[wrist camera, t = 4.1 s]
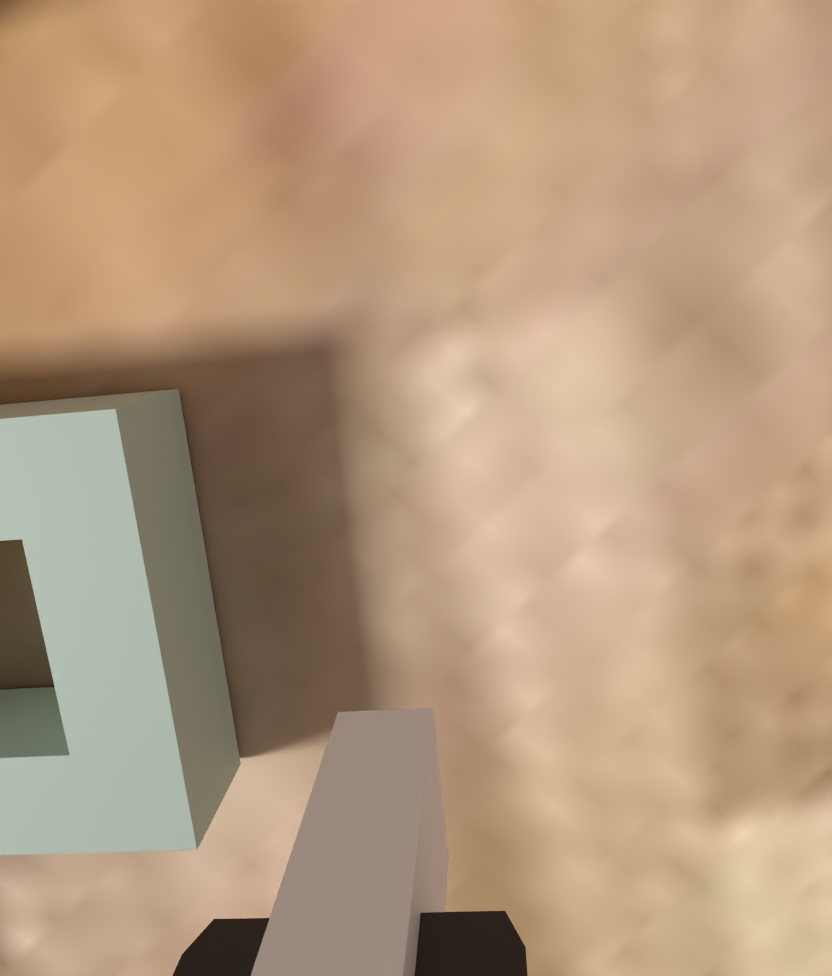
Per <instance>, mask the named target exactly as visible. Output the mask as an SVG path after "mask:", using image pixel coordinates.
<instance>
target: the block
mask: <svg viewBox="0 0 832 976" xmlns="http://www.w3.org/2000/svg"><path fill="white" fill-rule="evenodd" d="M20 539H22V542H23V547H24V551H25V556H26V560H27V565H28V569H29V574H30V578H31V583H32V587H33V592H34V597H35V601H36V606H37V610H38V615H39V619H40V624H41V628H42V633H43V637H44V642H45V646H46V651H47V655H48V660H49V664H50V669H51V673H52V678H53V682H54V687H42V688H23V689H3V690H0V855H30V854H65V853H99V852H134V851H169V850H197V849H198V847H199V845H200V843H201V841H202V839H203V837H204V835H205V833H206V831H207V829H208V827H209V825H210V823H211V821H212V819H213V817H214V815H215V813H216V811H217V809H218V807H219V805H220V803H221V802H222V800H223V798H224V796H225V794H226V792H227V790H228V788H229V786H230V784H231V782H232V780H233V778H234V776H235V774H236V772H237V770H238V768H239V766H240V764H241V763H240V757H239V751H238V745H237V739H236V733H235V727H234V721H233V715H232V709H231V703H230V697H229V690H228V684H227V678H226V672H225V666H224V660H223V654H222V648H221V642H220V636H219V630H218V624H217V618H216V612H215V606H214V600H213V594H212V588H211V581H210V575H209V569H208V563H207V557H206V551H205V545H204V539H203V533H202V527H201V521H200V515H199V509H198V503H197V497H196V491H195V485H194V479H193V472H192V466H191V460H190V454H189V448H188V442H187V436H186V430H185V424H184V418H183V412H182V406H181V400H180V394H179V389H170V390H159V391H147V392H136V393H125V394H114V395H102V396H91V397H80V398H69V399H57V400H46V401H35V402H24V403H13V404H1V405H0V541H6V540H20Z"/></svg>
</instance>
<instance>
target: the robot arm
mask: <svg viewBox="0 0 832 976" xmlns="http://www.w3.org/2000/svg"><path fill="white" fill-rule="evenodd" d="M447 870H448V850H447V840H446V830H445V820H444V810H443V801H442V791H441V781H440V771H439V761H438V751H437V741H436V731H435V721H434V712H433V708H416V709H393V710H371V711H348V712H338V713H337V716H336V719H335V722H334V726H333V729H332V732H331V735H330V738H329V741H328V744H327V747H326V750H325V753H324V756H323V759H322V762H321V765H320V768H319V771H318V774H317V777H316V780H315V783H314V786H313V789H312V792H311V795H310V798H309V801H308V804H307V807H306V810H305V813H304V816H303V819H302V822H301V825H300V828H299V831H298V834H297V837H296V840H295V843H294V846H293V849H292V852H291V855H290V858H289V861H288V864H287V867H286V870H285V873H284V876H283V879H282V882H281V885H280V888H279V891H278V894H277V897H276V901H275V904H274V907H273V910H272V913H271V916H270V918H252V919H214V920H213V921H212V922H211V923H210V924H209V925H208V926H207V928H206V929H205V930H204V931H203V932H202V933H201V934H200V935H199V936H198V937H197V939H196V940H195V941H194V942H193V943H192V944H191V945H190V946H189V947H188V949H187V950H186V951H185V952H184V953H183V954H182V956H181V958H180V960H179V963H178V965H177V967H176V969H175V972H174V974H173V976H527V963H526V950H525V946H524V944H523V942H522V940H521V939H520V937H519V935H518V933H517V931H516V930H515V928H514V926H513V924H512V923H511V921H510V919H509V917H508V915H507V914H506V912H505V911H481V912H445V905H446V888H447Z"/></svg>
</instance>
